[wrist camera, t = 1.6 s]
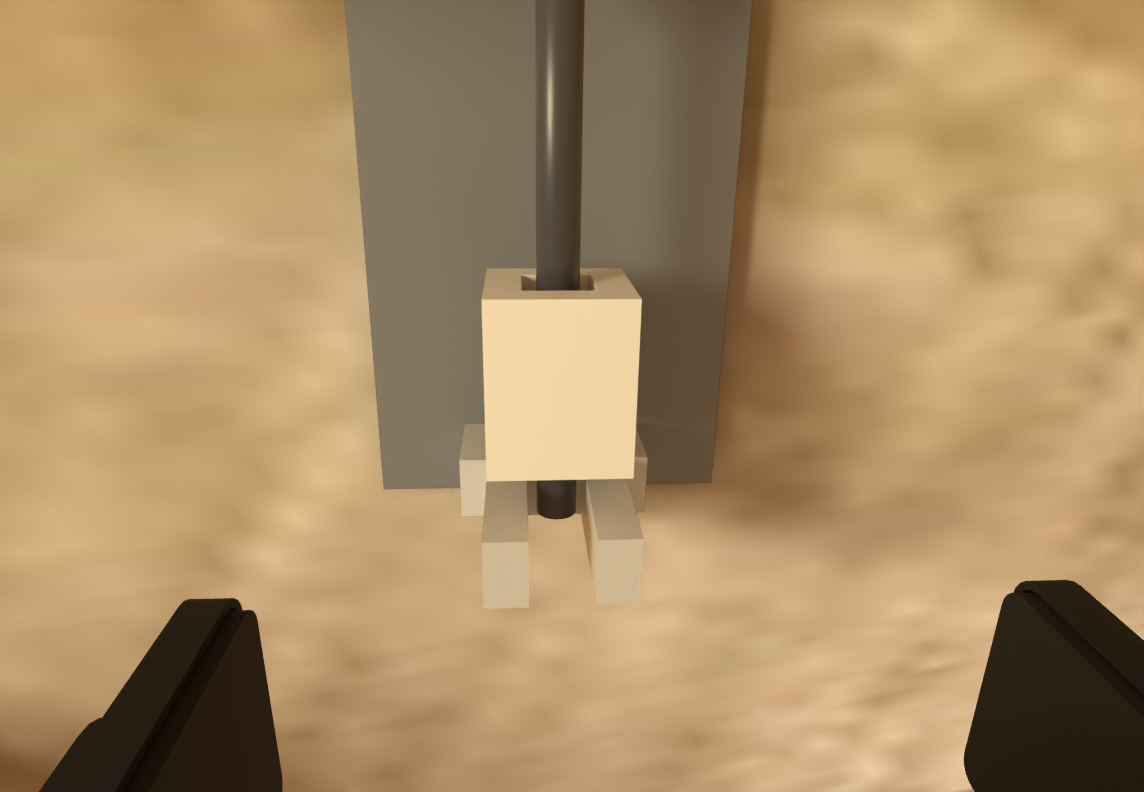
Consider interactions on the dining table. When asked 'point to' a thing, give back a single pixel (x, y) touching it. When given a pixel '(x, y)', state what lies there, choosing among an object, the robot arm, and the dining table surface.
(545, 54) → the board
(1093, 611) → the robot arm
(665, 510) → the dining table surface
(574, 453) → the sleeve
